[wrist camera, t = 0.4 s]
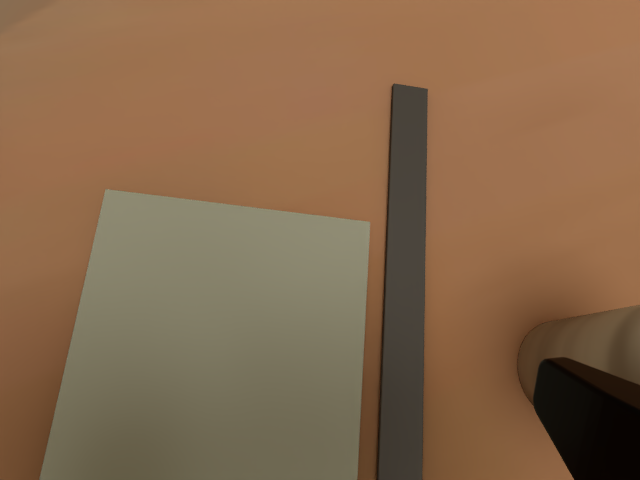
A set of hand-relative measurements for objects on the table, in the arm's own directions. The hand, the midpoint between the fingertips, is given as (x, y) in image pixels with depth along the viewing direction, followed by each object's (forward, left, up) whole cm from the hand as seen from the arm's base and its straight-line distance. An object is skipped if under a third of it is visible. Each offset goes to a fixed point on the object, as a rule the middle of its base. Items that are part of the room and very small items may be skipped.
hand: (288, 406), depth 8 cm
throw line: (-3, -6, -14) cm, 16 cm away
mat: (+3, 0, -14) cm, 15 cm away
